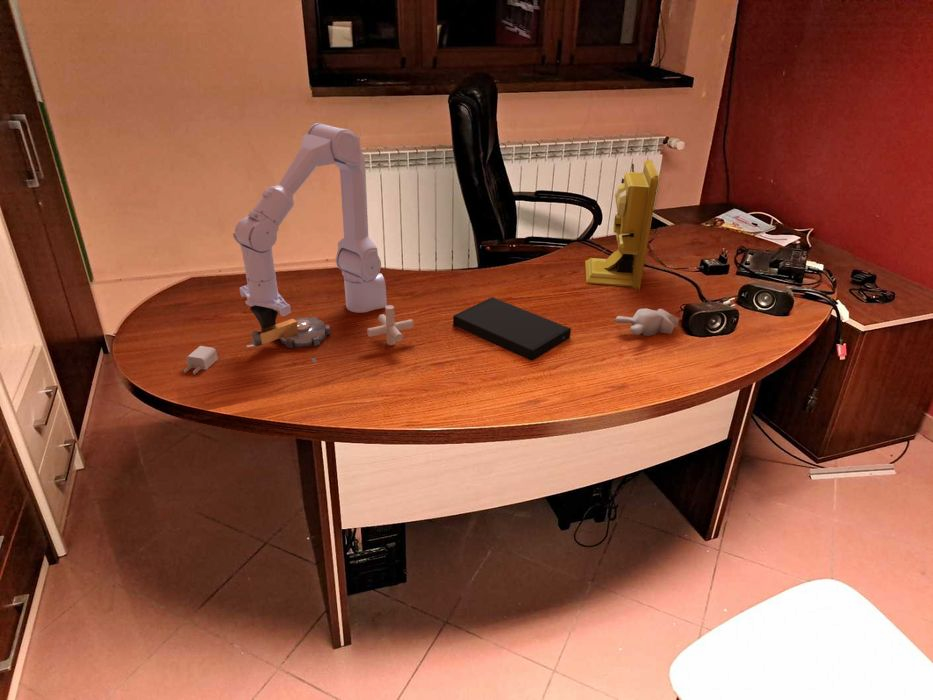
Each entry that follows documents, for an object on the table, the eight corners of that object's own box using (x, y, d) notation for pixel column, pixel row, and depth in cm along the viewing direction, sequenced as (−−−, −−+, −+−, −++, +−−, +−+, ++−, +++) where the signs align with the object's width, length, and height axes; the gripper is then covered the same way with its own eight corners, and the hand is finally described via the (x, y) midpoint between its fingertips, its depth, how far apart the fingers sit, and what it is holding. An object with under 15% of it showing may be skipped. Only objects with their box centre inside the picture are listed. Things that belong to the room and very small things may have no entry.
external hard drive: (492, 307, 161) (492, 296, 159) (569, 339, 147) (571, 328, 146) (453, 327, 151) (453, 315, 150) (532, 362, 138) (533, 350, 137)
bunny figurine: (689, 317, 149) (640, 324, 142) (683, 337, 151) (635, 345, 144) (661, 301, 156) (613, 306, 149) (655, 320, 158) (608, 326, 151)
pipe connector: (378, 364, 136) (375, 321, 131) (361, 342, 143) (359, 302, 138) (421, 353, 140) (421, 312, 135) (403, 333, 147) (402, 293, 142)
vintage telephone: (584, 250, 195) (596, 148, 179) (631, 253, 193) (648, 151, 178) (586, 294, 168) (601, 179, 153) (641, 298, 166) (661, 182, 151)
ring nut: (310, 319, 149) (308, 302, 147) (338, 338, 142) (337, 319, 140) (242, 343, 139) (238, 324, 137) (268, 364, 132) (265, 345, 130)
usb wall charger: (219, 364, 134) (215, 348, 132) (199, 382, 128) (196, 365, 126) (201, 362, 135) (198, 345, 133) (181, 379, 129) (177, 362, 127)
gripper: (223, 272, 133) (233, 330, 140) (266, 293, 125) (275, 353, 132) (252, 262, 137) (261, 319, 144) (295, 281, 130) (303, 340, 137)
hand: (270, 334), depth 138 cm, fingers closed, pressing on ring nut
